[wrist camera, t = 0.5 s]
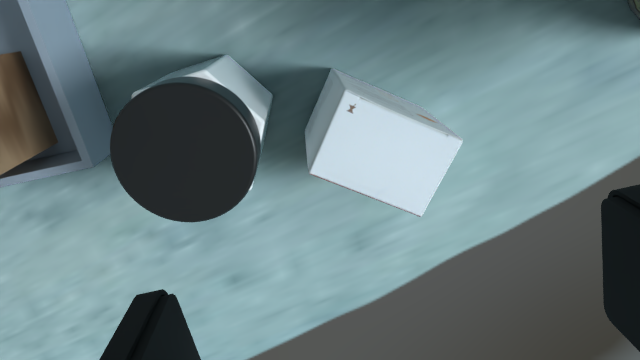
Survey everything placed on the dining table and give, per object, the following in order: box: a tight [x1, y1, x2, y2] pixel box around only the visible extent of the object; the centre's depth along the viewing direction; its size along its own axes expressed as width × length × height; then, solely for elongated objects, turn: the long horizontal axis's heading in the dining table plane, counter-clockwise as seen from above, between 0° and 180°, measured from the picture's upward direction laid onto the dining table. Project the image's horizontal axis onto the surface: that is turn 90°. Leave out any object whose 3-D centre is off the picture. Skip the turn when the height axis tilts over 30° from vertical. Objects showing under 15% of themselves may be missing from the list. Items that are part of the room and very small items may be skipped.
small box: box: [305, 68, 463, 217], centre depth 34 cm, size 8×6×10 cm
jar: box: [110, 55, 273, 222], centre depth 32 cm, size 9×8×12 cm
